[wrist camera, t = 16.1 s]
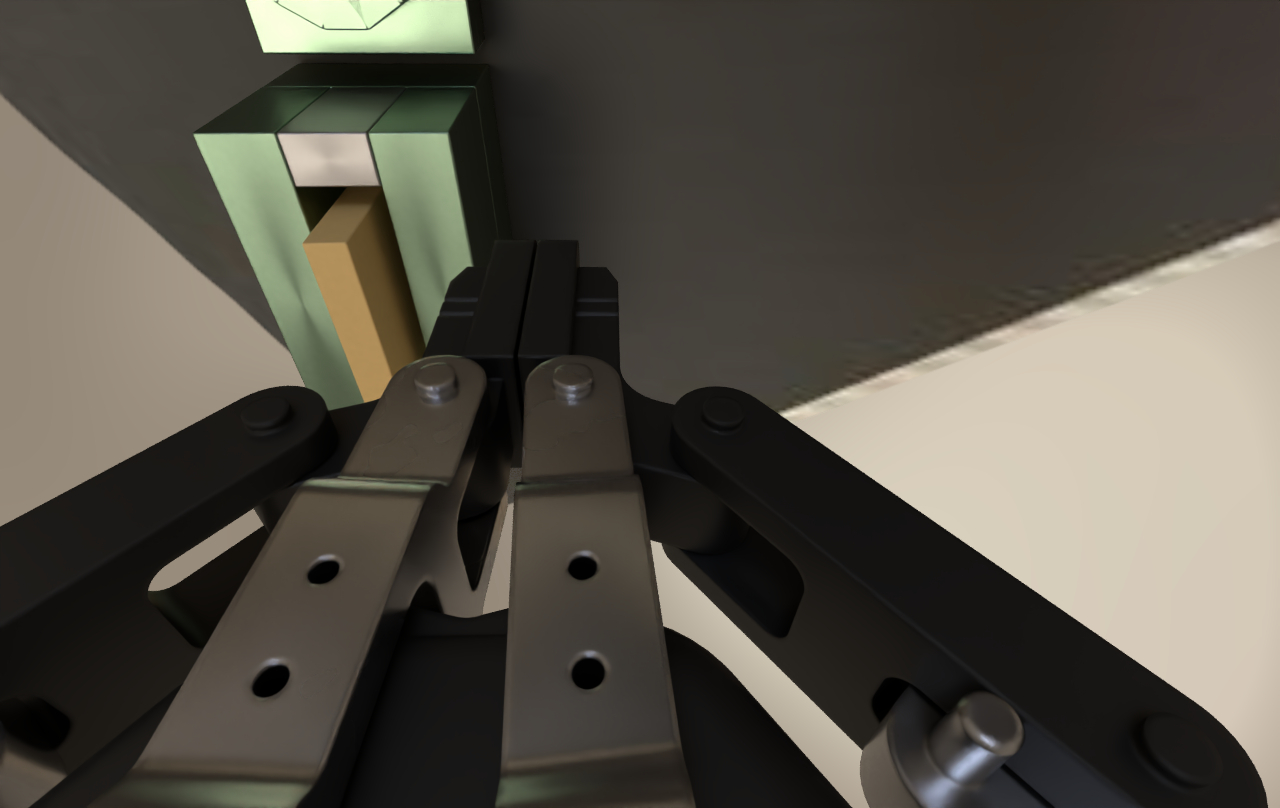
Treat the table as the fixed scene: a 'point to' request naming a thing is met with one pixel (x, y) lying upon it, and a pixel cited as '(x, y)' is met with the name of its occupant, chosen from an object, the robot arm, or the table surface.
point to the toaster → (359, 157)
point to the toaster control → (367, 26)
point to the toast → (365, 288)
